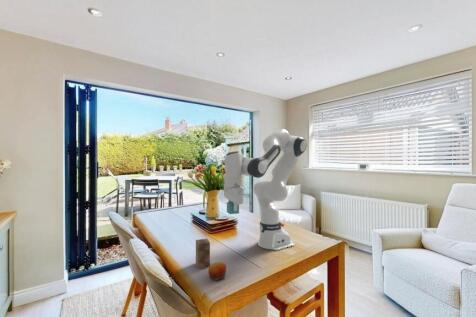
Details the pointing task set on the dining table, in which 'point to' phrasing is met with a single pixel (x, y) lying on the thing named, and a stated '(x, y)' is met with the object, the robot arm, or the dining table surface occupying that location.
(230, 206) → the teal block
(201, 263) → the block
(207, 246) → the tower top
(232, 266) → the dining table surface
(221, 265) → the fruit
